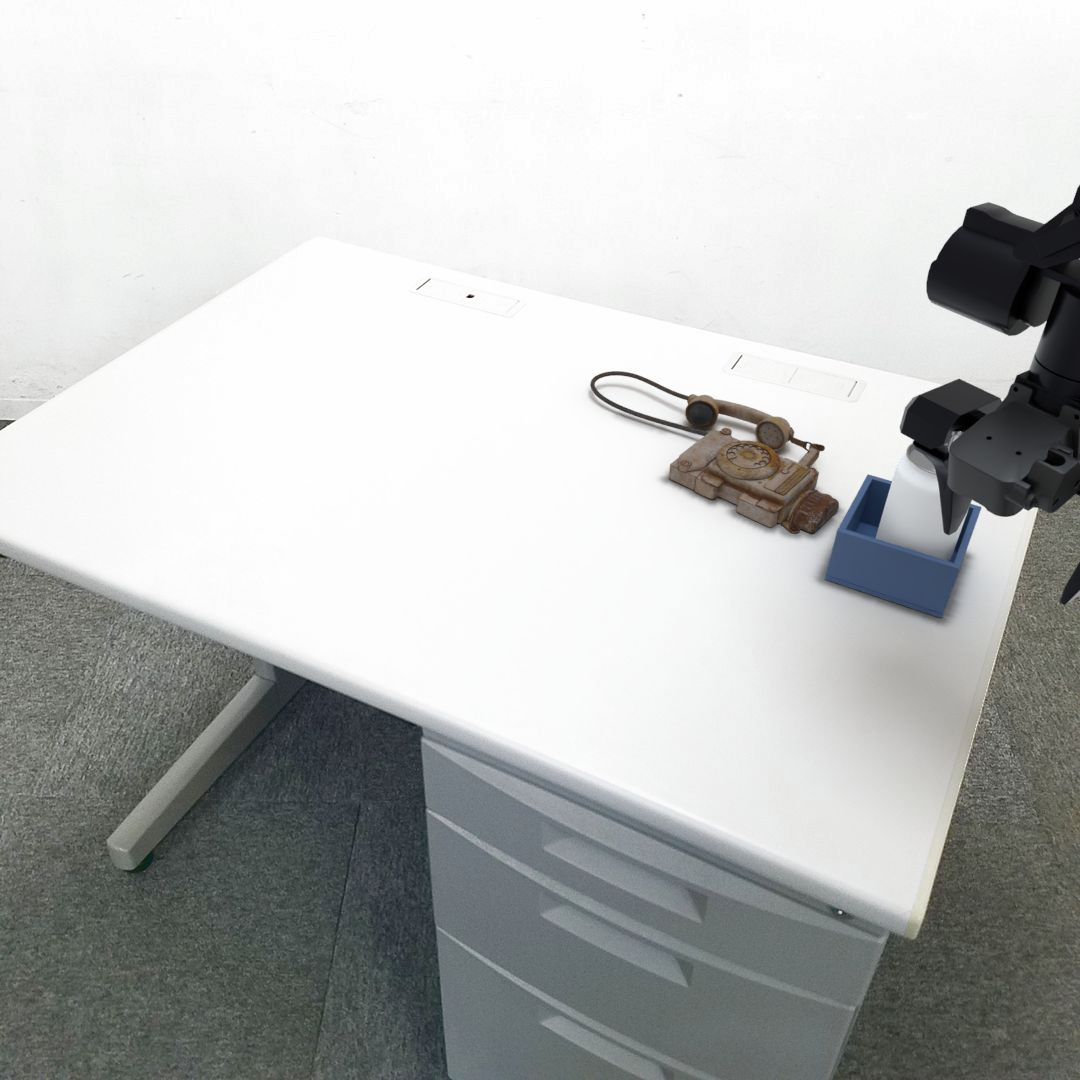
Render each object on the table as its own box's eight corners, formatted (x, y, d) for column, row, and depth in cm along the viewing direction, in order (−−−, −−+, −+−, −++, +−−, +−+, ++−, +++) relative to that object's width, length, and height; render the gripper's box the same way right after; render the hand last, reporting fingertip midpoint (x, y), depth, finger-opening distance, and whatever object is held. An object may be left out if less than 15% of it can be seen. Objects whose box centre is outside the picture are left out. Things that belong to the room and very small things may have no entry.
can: (862, 579, 85) (894, 466, 78) (876, 540, 90) (908, 429, 83) (938, 601, 83) (978, 486, 76) (948, 559, 88) (987, 448, 80)
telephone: (619, 371, 116) (621, 339, 113) (875, 475, 99) (884, 441, 96) (537, 424, 107) (537, 391, 105) (802, 548, 90) (810, 512, 88)
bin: (941, 618, 82) (959, 568, 79) (824, 579, 86) (837, 530, 83) (964, 554, 89) (981, 506, 86) (854, 521, 93) (867, 473, 90)
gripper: (873, 337, 60) (824, 536, 70) (1168, 477, 48) (1060, 694, 57) (983, 298, 65) (923, 488, 75) (1275, 416, 53) (1159, 625, 63)
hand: (1005, 565), depth 67 cm, fingers open, 9 cm apart
